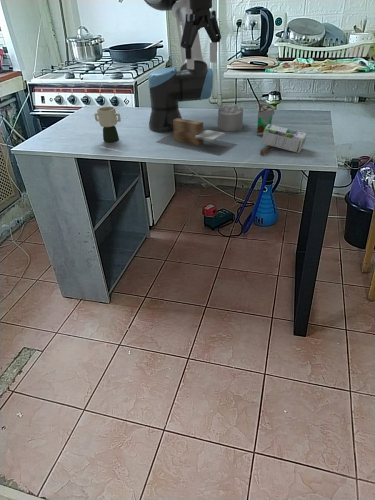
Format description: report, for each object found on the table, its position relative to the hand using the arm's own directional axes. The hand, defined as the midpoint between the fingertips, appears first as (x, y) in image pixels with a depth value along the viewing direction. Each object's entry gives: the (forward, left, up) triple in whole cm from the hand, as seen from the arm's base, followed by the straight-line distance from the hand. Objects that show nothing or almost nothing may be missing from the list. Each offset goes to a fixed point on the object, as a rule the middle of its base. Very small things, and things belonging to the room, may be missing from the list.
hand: (202, 65), depth 138 cm
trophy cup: (-33, -19, -27) cm, 47 cm away
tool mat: (0, -6, -27) cm, 28 cm away
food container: (+18, +18, -27) cm, 37 cm away
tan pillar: (+1, -6, -26) cm, 27 cm away
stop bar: (+28, +2, -27) cm, 39 cm away
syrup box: (+24, +4, -22) cm, 33 cm away
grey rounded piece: (+2, +18, -27) cm, 33 cm away
